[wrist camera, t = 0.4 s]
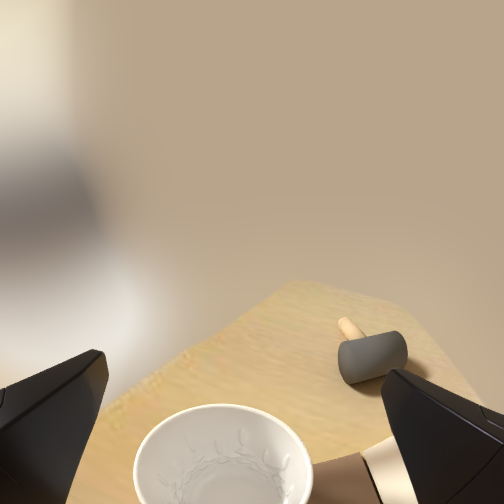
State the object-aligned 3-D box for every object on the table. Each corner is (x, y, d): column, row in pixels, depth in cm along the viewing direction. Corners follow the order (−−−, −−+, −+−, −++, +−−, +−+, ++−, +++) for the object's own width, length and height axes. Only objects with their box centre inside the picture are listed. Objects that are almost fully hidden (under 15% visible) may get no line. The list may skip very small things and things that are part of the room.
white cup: (186, 463, 17) (151, 397, 12) (286, 465, 17) (302, 400, 12) (177, 545, 9) (119, 528, 5) (293, 549, 9) (323, 542, 5)
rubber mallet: (401, 378, 23) (411, 344, 22) (351, 392, 23) (359, 357, 22) (360, 332, 33) (365, 301, 32) (318, 339, 33) (321, 308, 31)
